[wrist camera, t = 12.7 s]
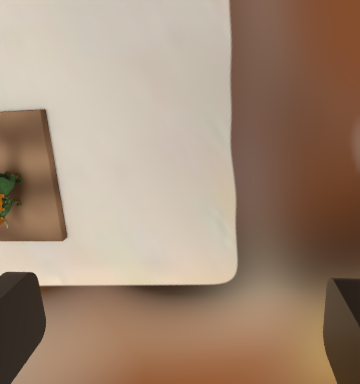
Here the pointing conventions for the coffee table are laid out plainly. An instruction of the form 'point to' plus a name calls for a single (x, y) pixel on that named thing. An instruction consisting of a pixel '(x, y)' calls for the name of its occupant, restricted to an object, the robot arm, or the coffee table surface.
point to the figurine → (7, 195)
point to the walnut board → (30, 178)
